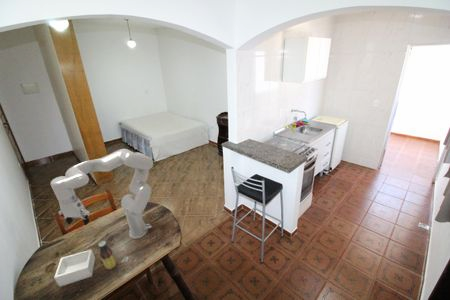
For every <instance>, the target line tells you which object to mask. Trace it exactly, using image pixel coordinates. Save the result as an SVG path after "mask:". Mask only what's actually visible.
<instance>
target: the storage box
mask: <svg viewBox="0 0 450 300" xmlns="http://www.w3.org/2000/svg"><path fill="white" fill-rule="evenodd" d="M95 261H96V257H95V254H94V252H93V249H88V250H85V251H80V252H77V253H73V254H70V255H67V256H63V257H60V259H59V263H58V266H57V268H56V271H55V274H54V277H53V278H54V280H55V282H56V284H57V286H58V287H59V288H61V287H64V286H67V285H70V284H74V283H76V282H80V281H82V280H85V279H86V280H87V279H89V278H92V277H93V274H94V273H93V272H94V267H95V263H96V262H95Z"/></svg>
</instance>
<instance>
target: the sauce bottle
mask: <svg viewBox="0 0 450 300" xmlns="http://www.w3.org/2000/svg"><path fill="white" fill-rule="evenodd" d="M97 246H98V248H99V250H100V251H99V252H100V253H99V257H100V259H101V261H102V263H103V266H104V268H105V269H106V270H108V271H110V270H111V271H112V270H114V269H115V268H116V266H117V259H116V258H115V255H114V251H113V250H112V249H111V247H110V246H108V244H107V241H106V240H102V241H99V243H98V245H97Z"/></svg>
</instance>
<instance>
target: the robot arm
mask: <svg viewBox="0 0 450 300" xmlns="http://www.w3.org/2000/svg"><path fill="white" fill-rule="evenodd" d="M122 165H125V166H126V167H130V168H132V169H135V170H134V174H133V177H132V178H131V181H130V184H129V187H128V190H129V192H130V193H127V194H125V195H124V196H123V197H122V199H121V200H120V204H121V208H122V209H123V212H124V213H125V218H126V220H127V224H128V227H129V231H128V236H129V237H130V238H131V239H133V240H136V239H137V240H139V239H141V238H142V237H144V236H145V235H147V233H148V230H149V229H151V228H153V227H152V225H151V224H150V223H145V222H144V218H143V215H142V214H143V212H144V211H145V209H146V207H147V204H148V201H149V200H150V197H151V194H152V189H151V186H150V185H149V184H148V183H147V179H148V177H149V172H150V171H149V170H151V169H152V168H153V166H154V160H153V159H152V158H151V157H150V156H147V154H144V153H142V152H138V151H137V152H133V151H132V150H130V149H128V148H121V149H118V150H115V151H113V152H112V153H109V154H107V155H104V156H103V157H100V158H95V159H91V160H85V161H83V162H80V163H77V164H75V165H72V166H71V167H69V168H68V169H67V170H66V172H65V173H64V174H65V176H63V175H61V176H57V177H55V178H53V179H52V180H51V181H50V186H51V188H52V190H53V192H54V195H55V196H56V199H57V200H58V204H59V208H60V210H59V211H58V212H57V213H58V214H59V215H60V216H61V217H62V218H63V219H64V220H65V222H66V223H67V225H68V226H69V225H71V224H72V223H73V222H74V219H73V218H81V219H82V222H83V224H84V226H87V225H88V224H89V222H90V219H89V216H90V213H91V212H90V210H87V209H86V208H85V206H84V204H83V201H81V200H80V199H79V197H78V196H77V195H76V192H75V189H78V188H81V187H84V186H86V185H87V184H88V183H89V182H90V178H89V175H88V174H89V173H93V172H94V173H95V172H104V173H105V172H110V171H112V170H114V169H116V168H118V167H120V166H122Z"/></svg>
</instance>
